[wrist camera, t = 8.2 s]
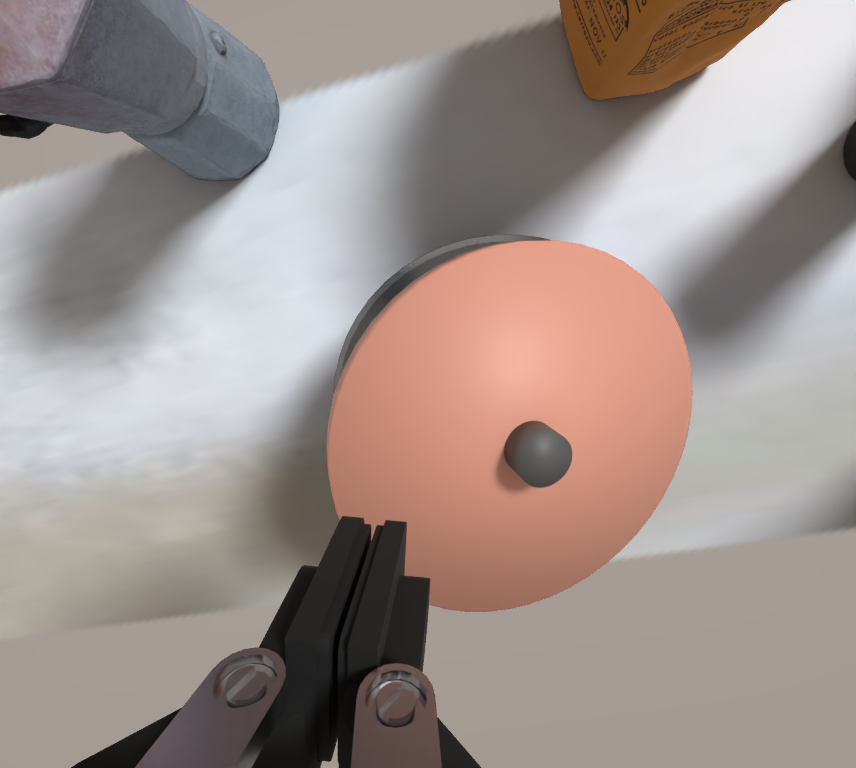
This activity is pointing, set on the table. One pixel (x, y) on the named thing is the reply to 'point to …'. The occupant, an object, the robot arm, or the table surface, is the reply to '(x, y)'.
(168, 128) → the moka pot
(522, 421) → the lid
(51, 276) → the table surface
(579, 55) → the coffee package
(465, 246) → the cooker pot
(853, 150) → the drinking cup
